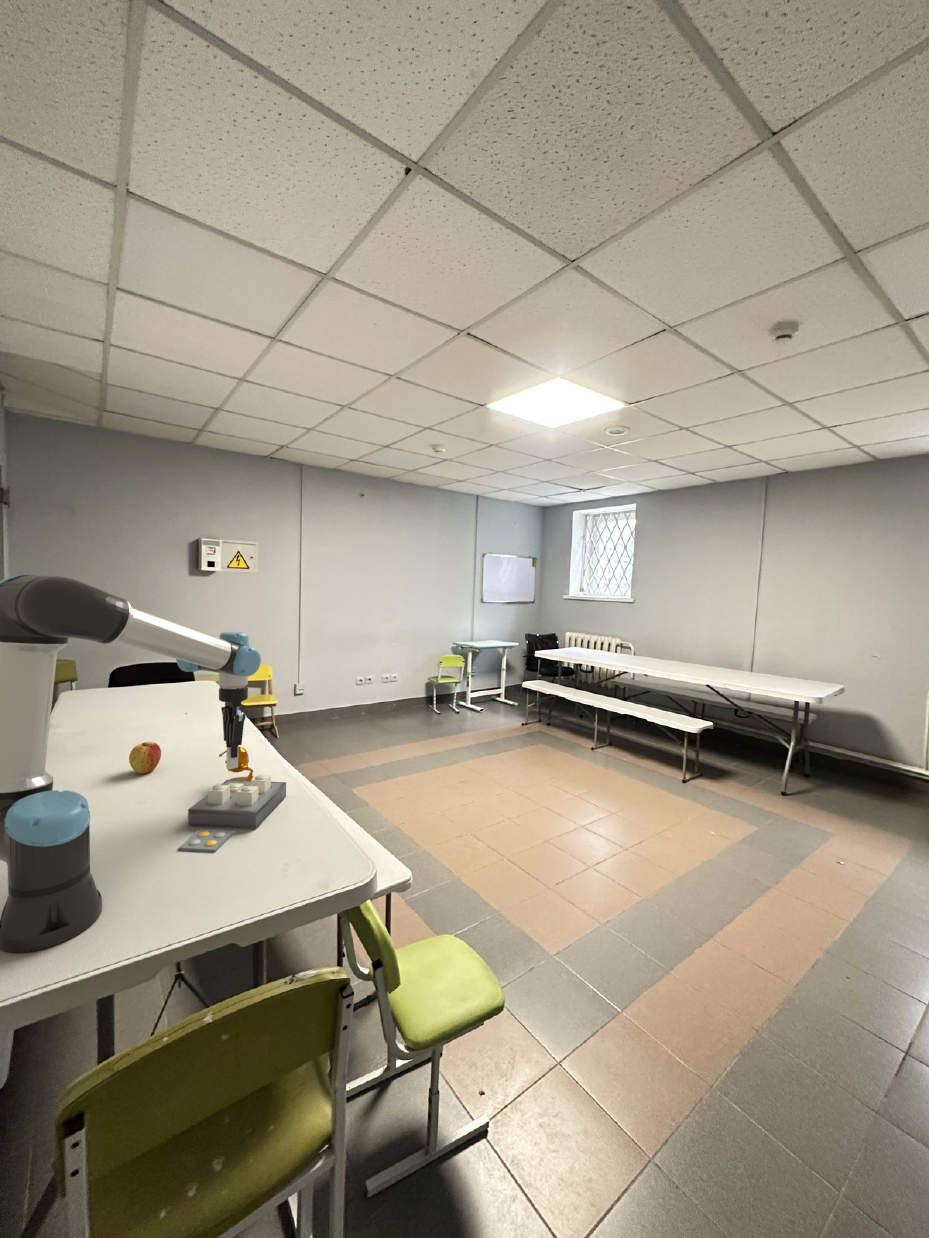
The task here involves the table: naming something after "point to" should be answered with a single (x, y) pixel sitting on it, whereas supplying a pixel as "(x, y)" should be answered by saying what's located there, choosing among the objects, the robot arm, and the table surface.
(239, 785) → the button far left
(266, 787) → the button far right
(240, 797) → the button near right
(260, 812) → the button box
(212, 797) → the button near left
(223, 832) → the card
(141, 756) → the apple
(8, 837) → the robot arm
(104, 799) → the table surface
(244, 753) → the figurine
